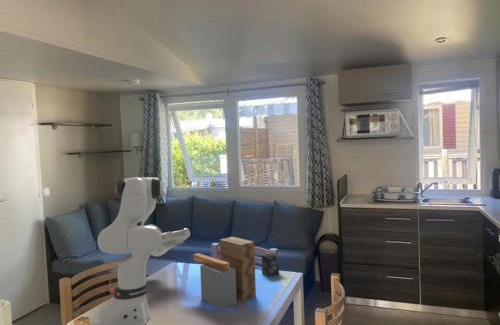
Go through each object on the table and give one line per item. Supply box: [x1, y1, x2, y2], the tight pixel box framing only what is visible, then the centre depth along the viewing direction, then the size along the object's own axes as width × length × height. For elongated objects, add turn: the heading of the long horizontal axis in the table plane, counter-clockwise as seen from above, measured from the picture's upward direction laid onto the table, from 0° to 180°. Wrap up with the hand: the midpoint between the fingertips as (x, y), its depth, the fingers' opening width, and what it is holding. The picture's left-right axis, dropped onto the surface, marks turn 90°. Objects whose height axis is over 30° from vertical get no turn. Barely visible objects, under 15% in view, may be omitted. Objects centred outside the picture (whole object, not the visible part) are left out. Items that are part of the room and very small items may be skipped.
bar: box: [192, 252, 229, 271], centre depth 182 cm, size 3×24×3 cm, turn 42°
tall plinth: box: [219, 236, 257, 302], centre depth 187 cm, size 8×16×26 cm, turn 42°
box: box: [261, 252, 280, 277], centre depth 216 cm, size 8×6×11 cm
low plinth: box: [199, 264, 237, 310], centre depth 179 cm, size 8×16×16 cm, turn 42°
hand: (178, 231), depth 202 cm, fingers open, 8 cm apart
